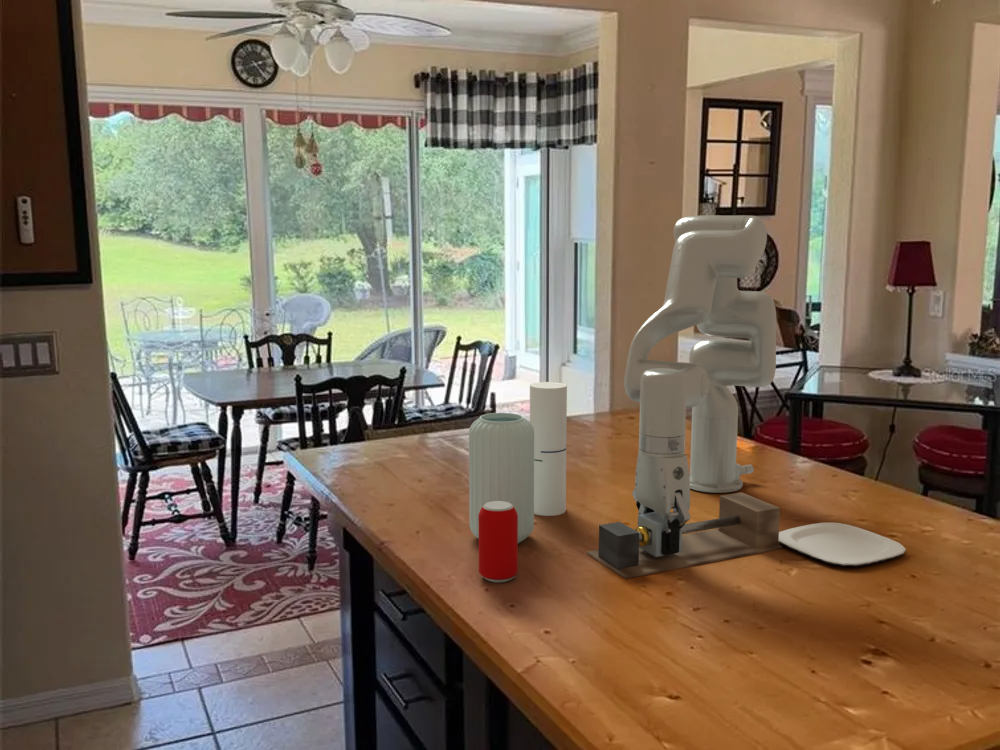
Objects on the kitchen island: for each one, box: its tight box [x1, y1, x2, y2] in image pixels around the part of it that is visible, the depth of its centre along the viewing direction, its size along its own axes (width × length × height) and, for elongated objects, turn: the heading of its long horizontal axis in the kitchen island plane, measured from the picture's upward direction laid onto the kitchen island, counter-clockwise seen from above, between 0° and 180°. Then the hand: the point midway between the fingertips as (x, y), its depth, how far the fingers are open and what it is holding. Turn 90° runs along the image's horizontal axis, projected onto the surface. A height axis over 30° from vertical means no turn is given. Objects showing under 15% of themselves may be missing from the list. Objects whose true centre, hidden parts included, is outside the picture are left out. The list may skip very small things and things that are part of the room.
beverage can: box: [478, 501, 519, 584], centre depth 141 cm, size 6×6×12 cm
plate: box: [778, 522, 907, 567], centre depth 155 cm, size 18×18×2 cm
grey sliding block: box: [637, 512, 683, 557], centre depth 151 cm, size 5×6×6 cm
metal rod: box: [634, 515, 740, 547], centre depth 152 cm, size 26×3×3 cm, turn 115°
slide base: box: [586, 492, 783, 579], centre depth 153 cm, size 32×12×7 cm, turn 115°
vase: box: [468, 412, 535, 544], centre depth 158 cm, size 12×12×22 cm
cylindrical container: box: [529, 381, 568, 517], centre depth 174 cm, size 7×7×25 cm
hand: (659, 546), depth 151 cm, fingers closed on grey sliding block, 5 cm apart
